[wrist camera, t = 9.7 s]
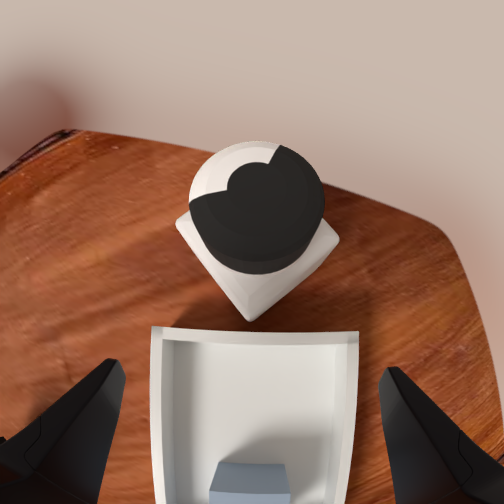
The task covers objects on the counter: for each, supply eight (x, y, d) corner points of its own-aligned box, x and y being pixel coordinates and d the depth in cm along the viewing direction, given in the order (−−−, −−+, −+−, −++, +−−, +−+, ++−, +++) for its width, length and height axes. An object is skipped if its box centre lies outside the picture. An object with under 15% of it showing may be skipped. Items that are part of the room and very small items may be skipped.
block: (284, 463, 18) (290, 493, 13) (280, 510, 16) (285, 543, 12) (218, 461, 18) (208, 490, 13) (218, 508, 17) (210, 540, 12)
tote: (326, 516, 17) (336, 539, 13) (172, 511, 17) (160, 533, 13) (342, 332, 22) (358, 331, 18) (168, 328, 22) (151, 325, 18)
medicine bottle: (319, 267, 23) (372, 201, 12) (249, 324, 22) (241, 309, 11) (263, 203, 25) (267, 102, 13) (195, 254, 24) (144, 179, 12)
